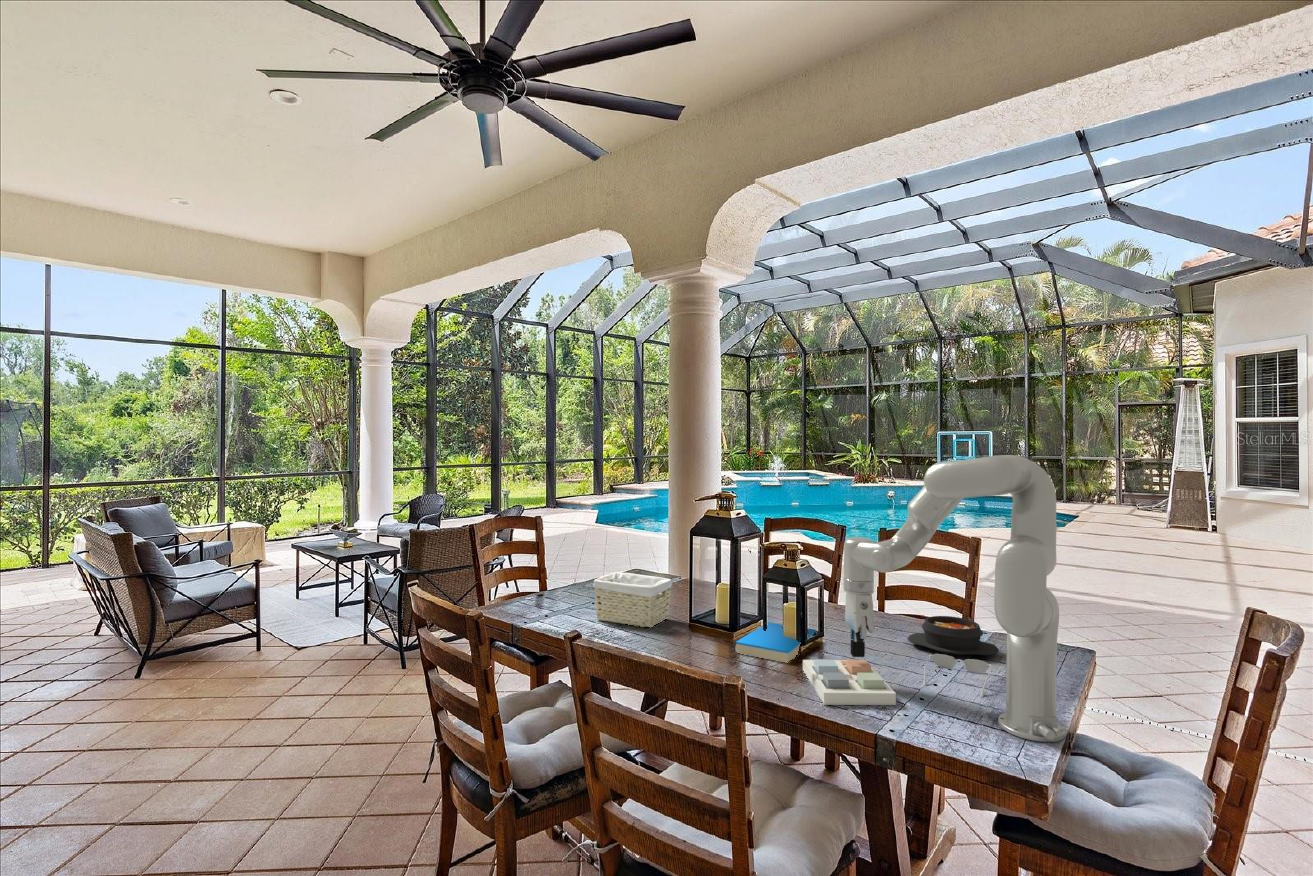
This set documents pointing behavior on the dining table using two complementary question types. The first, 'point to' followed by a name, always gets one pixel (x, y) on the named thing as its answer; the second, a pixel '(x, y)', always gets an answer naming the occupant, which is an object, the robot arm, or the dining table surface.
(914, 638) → the casserole
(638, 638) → the dining table surface
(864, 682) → the key sage
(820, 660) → the key blue
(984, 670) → the eyeglasses
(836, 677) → the key slate
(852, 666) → the key terracotta
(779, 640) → the book
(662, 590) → the storage basket
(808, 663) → the keypad
